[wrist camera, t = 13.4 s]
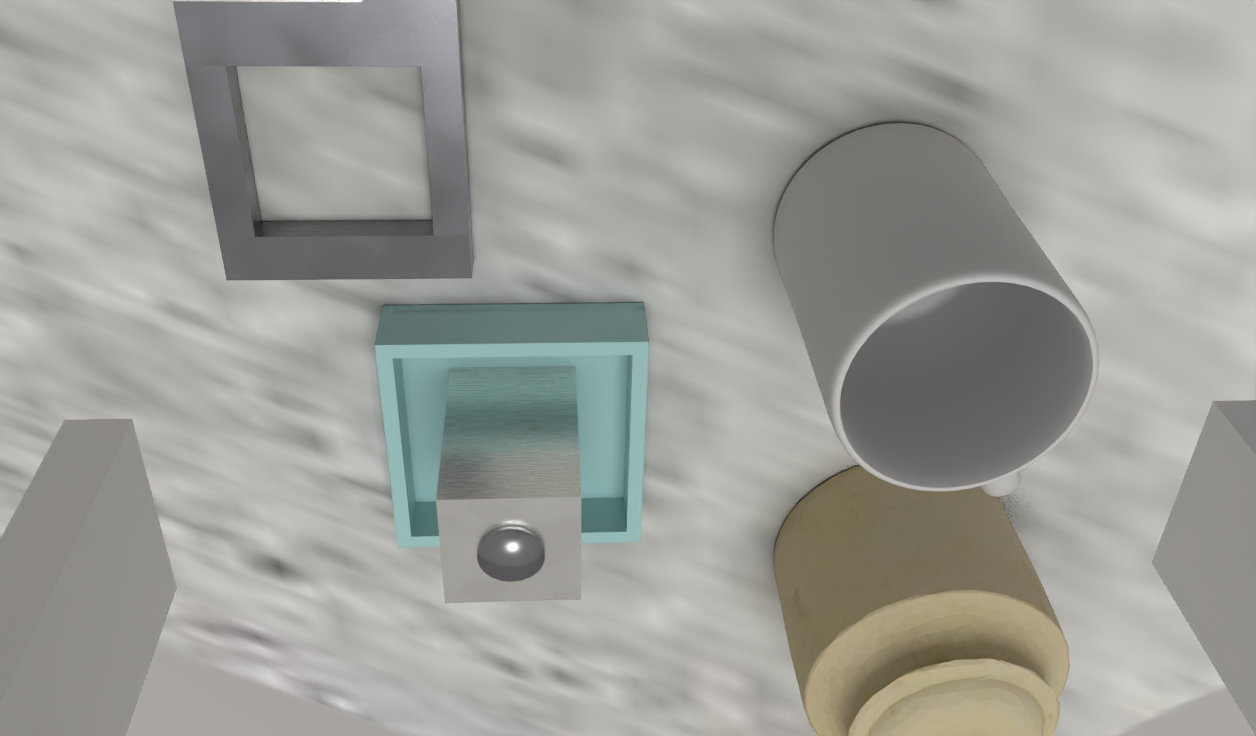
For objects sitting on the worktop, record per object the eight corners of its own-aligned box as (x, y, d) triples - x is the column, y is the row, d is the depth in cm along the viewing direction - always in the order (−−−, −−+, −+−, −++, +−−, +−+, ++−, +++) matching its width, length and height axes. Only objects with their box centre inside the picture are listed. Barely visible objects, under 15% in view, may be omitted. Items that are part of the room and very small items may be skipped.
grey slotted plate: (117, -354, 34) (105, -351, 33) (439, -346, 34) (436, -343, 33) (233, 263, 45) (226, 280, 44) (473, 262, 46) (472, 278, 45)
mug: (735, 184, 44) (785, 348, 35) (951, 79, 42) (1062, 223, 34) (850, 408, 51) (918, 595, 42) (1043, 324, 49) (1157, 501, 40)
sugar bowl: (1062, 616, 59) (1200, 899, 47) (859, 699, 62) (939, 988, 49) (956, 414, 51) (1088, 690, 39) (729, 519, 54) (785, 808, 42)
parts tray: (382, 305, 46) (374, 345, 44) (643, 302, 47) (649, 341, 45) (404, 503, 52) (397, 547, 50) (635, 498, 53) (640, 541, 51)
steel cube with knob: (450, 367, 47) (435, 505, 41) (575, 366, 48) (581, 502, 41) (457, 464, 50) (444, 609, 44) (575, 462, 51) (581, 605, 44)
